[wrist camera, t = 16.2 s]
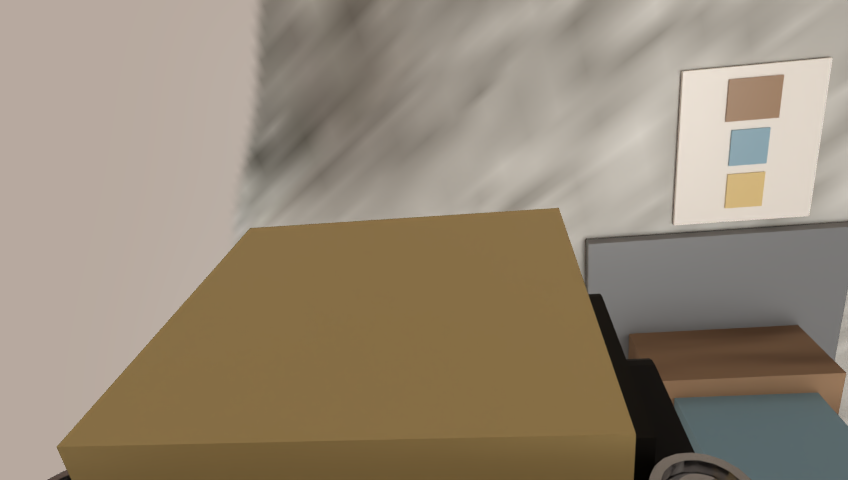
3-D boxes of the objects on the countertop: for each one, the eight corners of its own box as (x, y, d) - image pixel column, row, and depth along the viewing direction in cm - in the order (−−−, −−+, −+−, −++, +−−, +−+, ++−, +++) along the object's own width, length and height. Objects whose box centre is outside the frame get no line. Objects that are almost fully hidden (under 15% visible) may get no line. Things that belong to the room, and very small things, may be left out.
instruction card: (681, 71, 26) (683, 72, 25) (829, 57, 25) (834, 58, 25) (672, 223, 28) (674, 226, 28) (806, 214, 28) (810, 216, 27)
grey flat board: (586, 239, 29) (588, 244, 28) (851, 221, 28) (859, 226, 27) (585, 520, 36) (587, 528, 35) (799, 515, 34) (804, 523, 34)
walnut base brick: (629, 333, 30) (652, 381, 26) (797, 324, 29) (846, 372, 25) (625, 459, 33) (645, 518, 29) (778, 454, 32) (818, 514, 28)
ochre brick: (250, 228, 12) (56, 446, 6) (558, 208, 11) (636, 434, 6) (305, 459, 14) (197, 762, 9) (561, 455, 14) (619, 781, 8)
